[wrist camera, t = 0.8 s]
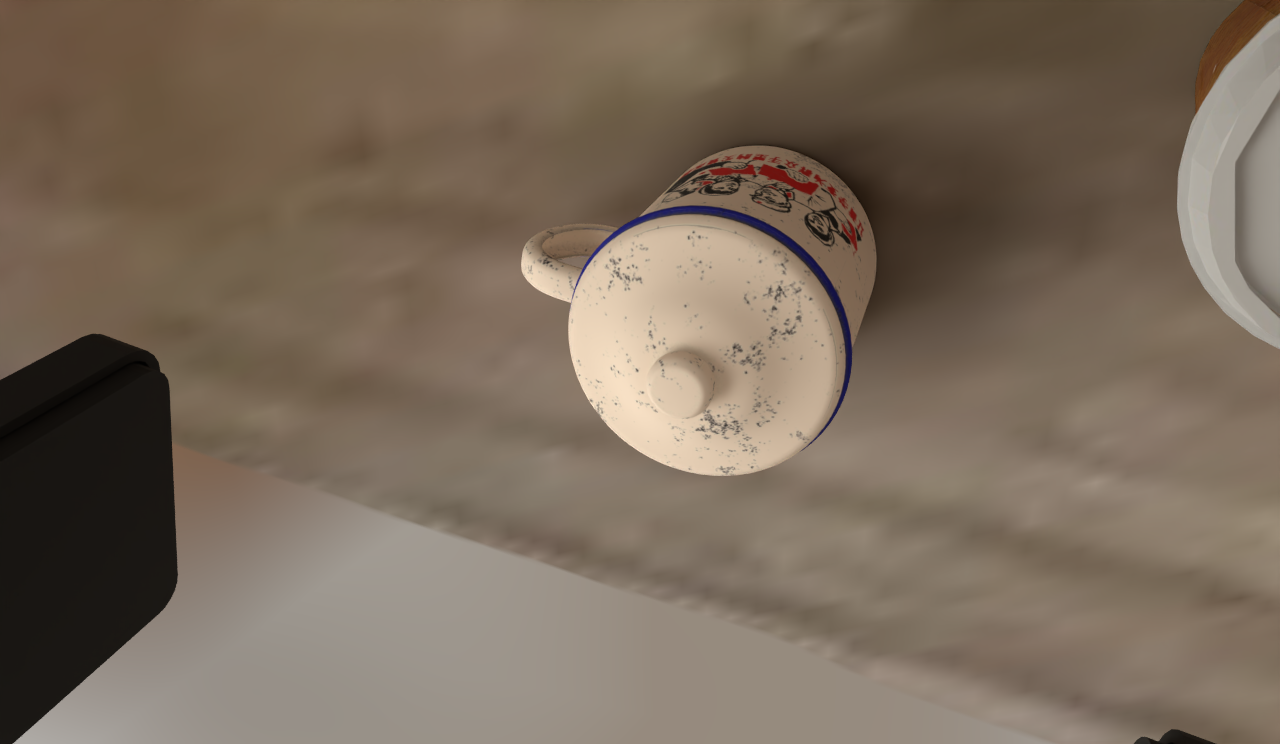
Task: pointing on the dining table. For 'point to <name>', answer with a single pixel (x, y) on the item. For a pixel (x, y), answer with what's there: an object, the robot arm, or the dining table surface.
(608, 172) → the dining table surface
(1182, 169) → the disposable coffee cup
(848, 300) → the teacup with lid
